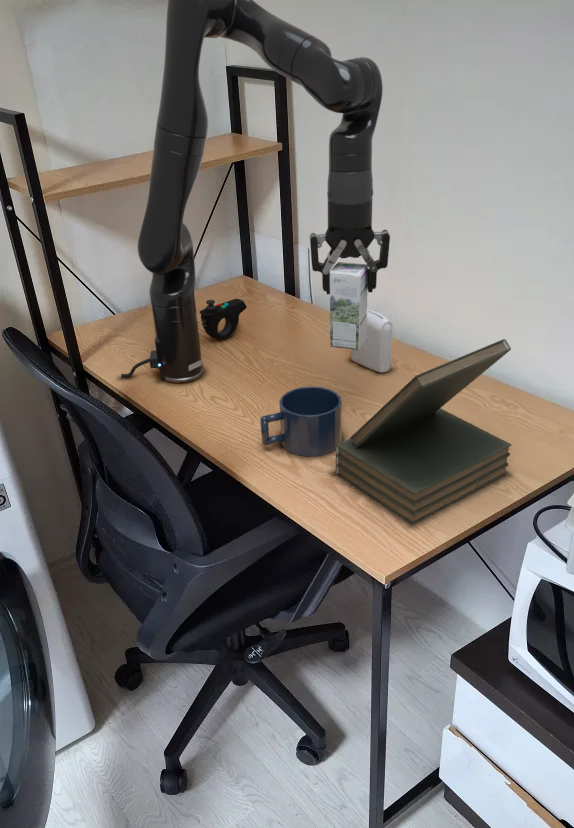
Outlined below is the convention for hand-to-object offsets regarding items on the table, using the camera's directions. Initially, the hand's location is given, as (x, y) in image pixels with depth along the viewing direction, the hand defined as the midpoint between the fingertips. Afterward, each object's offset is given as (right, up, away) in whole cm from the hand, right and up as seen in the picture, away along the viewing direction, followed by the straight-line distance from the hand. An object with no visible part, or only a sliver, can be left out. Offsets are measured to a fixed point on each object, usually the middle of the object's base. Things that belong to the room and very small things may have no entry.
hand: (349, 291), depth 140 cm
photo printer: (+8, -7, +33) cm, 35 cm away
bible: (+13, -33, -2) cm, 35 cm away
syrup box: (0, -8, +6) cm, 10 cm away
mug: (-8, -27, +8) cm, 29 cm away
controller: (-26, +2, +49) cm, 55 cm away
